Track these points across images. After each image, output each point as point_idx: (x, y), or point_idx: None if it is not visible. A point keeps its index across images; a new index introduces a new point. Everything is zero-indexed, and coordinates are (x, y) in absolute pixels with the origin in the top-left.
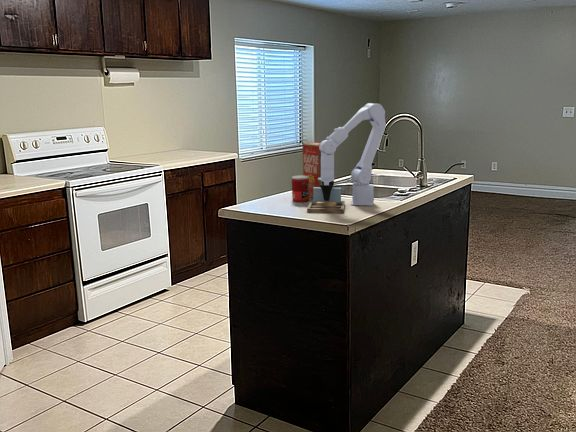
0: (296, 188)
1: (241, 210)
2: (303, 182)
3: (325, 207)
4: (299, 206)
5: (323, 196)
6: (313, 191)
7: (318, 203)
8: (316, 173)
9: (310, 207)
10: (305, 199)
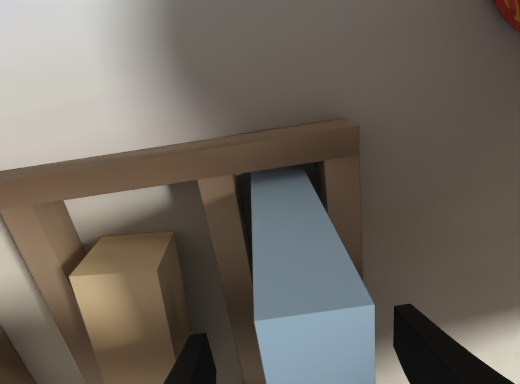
0: None
1: None
2: None
3: (72, 335)
4: (176, 8)
5: (168, 376)
6: (255, 270)
7: (78, 291)
8: None
9: (7, 203)
10: (514, 10)
